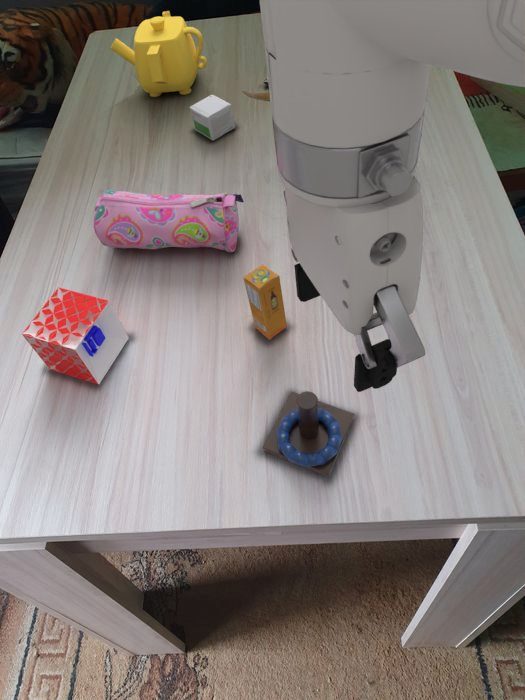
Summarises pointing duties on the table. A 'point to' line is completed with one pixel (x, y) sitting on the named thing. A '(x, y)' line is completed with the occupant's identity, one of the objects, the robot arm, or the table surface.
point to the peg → (309, 428)
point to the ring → (311, 458)
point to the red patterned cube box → (77, 335)
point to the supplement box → (266, 301)
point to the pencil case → (167, 220)
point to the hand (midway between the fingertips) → (343, 335)
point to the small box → (212, 117)
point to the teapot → (164, 54)
